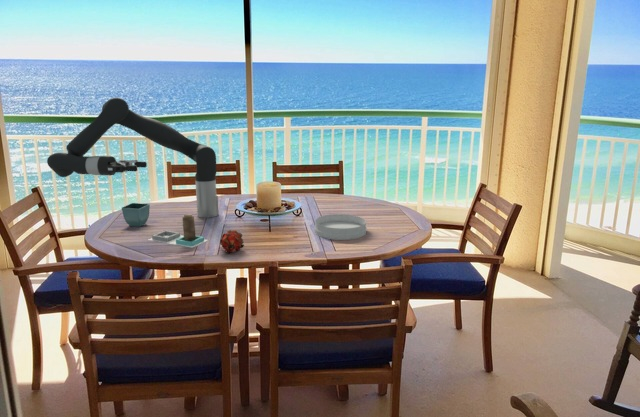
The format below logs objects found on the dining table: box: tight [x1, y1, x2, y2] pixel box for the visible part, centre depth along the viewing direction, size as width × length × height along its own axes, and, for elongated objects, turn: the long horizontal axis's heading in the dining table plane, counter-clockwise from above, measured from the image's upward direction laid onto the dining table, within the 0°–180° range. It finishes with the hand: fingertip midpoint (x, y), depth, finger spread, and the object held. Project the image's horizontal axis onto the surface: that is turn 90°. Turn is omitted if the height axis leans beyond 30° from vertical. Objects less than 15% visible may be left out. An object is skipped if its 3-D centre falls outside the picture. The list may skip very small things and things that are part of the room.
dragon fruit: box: [219, 229, 245, 255], centre depth 184 cm, size 8×8×12 cm
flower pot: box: [121, 202, 151, 228], centre depth 216 cm, size 9×9×9 cm
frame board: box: [147, 230, 209, 248], centre depth 194 cm, size 22×10×3 cm, turn 65°
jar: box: [182, 213, 197, 242], centre depth 190 cm, size 4×4×11 cm
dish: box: [314, 213, 367, 241], centre depth 209 cm, size 22×22×5 cm
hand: (141, 166), depth 190 cm, fingers open, 8 cm apart
